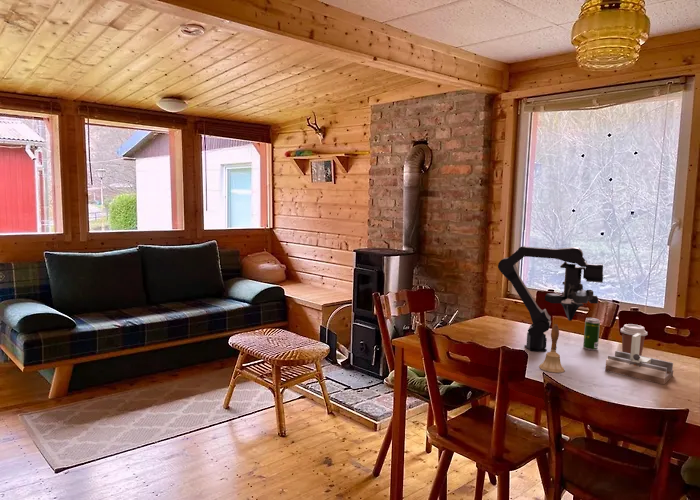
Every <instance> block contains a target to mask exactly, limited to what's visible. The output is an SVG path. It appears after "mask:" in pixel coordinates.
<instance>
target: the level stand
mask: <svg viewBox="0 0 700 500" xmlns="http://www.w3.org/2000/svg"><path fill="white" fill-rule="evenodd" d="M630 355H631V354H630V353H625V352H622V350H621V351H619V350H615V351H614V355H610V354H608V355H607V358H606V359H605V367H604V369H605V371H606V372H611V373H613V374H618V375H622V376H627V377H631V378H635V379H639V380H643V381H647V382H652V383H656V384H660V385H665V384H666V383H667V382H668V381H669V380H670V379H671V378H673V376H674V370H673V369H674V362H671V361H667V360H662V359H658V358H653V357H649V356H645V355H641V357H646V358H650V359H651V364H647V363H642V362H639V363H637V362H632V360H630ZM639 356H640V355H639Z"/></svg>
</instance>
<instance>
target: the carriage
mask: <svg viewBox="0 0 700 500" xmlns="http://www.w3.org/2000/svg"><path fill="white" fill-rule="evenodd" d="M640 339H641V334H639V333H636V334H635V335H633V336H632V344H631V355H630V360H632V362H637V363H639V362H642V363H647V364H651V359H650V358H651V357H649V358H646V357H647V356H644V357H641V356H642V355H641V356H639V350H640Z"/></svg>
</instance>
